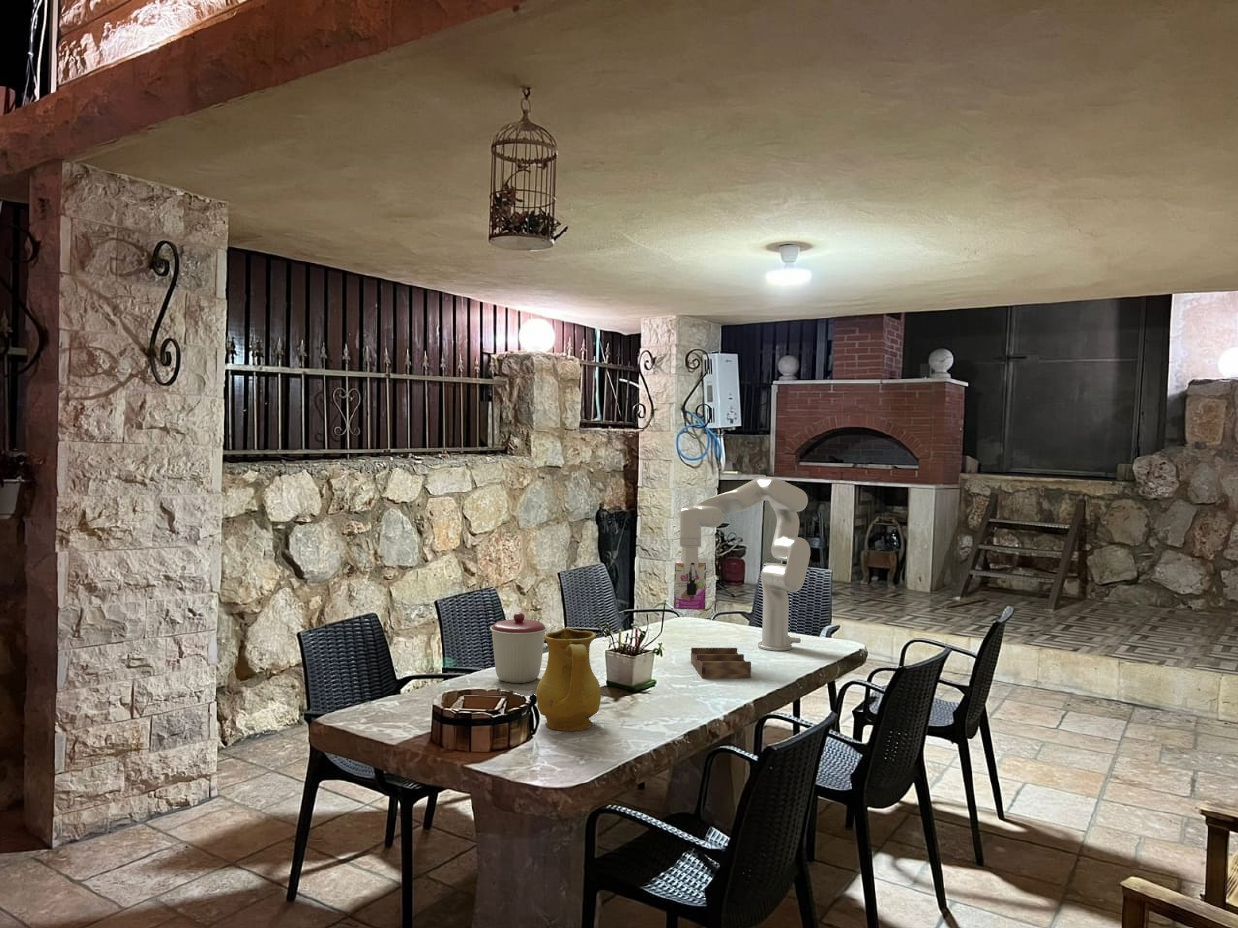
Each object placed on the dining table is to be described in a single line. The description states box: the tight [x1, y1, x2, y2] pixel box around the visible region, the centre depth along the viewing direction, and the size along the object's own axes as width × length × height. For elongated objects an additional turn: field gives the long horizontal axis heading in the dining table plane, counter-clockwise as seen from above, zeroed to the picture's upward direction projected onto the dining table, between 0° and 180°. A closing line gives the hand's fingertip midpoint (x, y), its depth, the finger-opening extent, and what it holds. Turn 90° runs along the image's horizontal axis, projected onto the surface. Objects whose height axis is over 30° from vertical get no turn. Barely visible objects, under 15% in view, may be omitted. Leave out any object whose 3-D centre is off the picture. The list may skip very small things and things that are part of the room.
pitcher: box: [535, 627, 602, 732], centre depth 234 cm, size 17×19×25 cm
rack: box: [690, 647, 752, 679], centre depth 296 cm, size 16×21×5 cm
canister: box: [489, 612, 548, 684], centre depth 279 cm, size 18×18×21 cm
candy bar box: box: [673, 560, 707, 611], centre depth 312 cm, size 11×5×16 cm, turn 84°
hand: (690, 592), depth 312 cm, fingers closed on candy bar box, 5 cm apart
